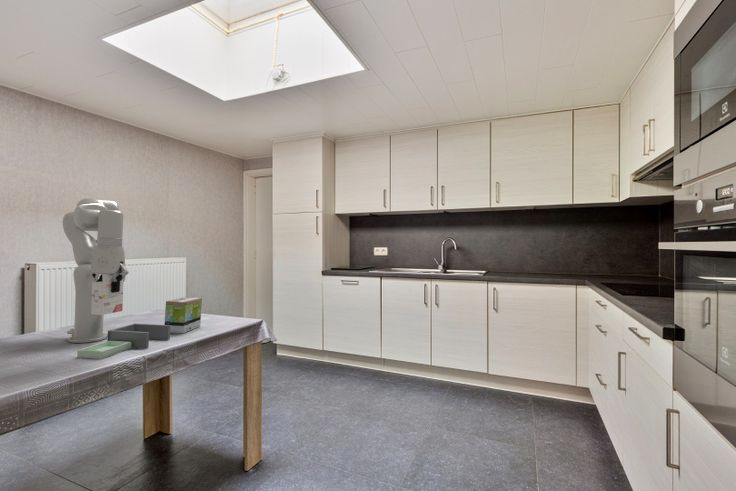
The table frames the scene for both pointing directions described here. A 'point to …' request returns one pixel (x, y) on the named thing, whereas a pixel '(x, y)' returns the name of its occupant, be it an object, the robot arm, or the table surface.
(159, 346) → the table surface
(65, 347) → the table surface
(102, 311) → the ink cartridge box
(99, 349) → the tray
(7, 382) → the table surface
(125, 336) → the bay
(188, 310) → the tea box
